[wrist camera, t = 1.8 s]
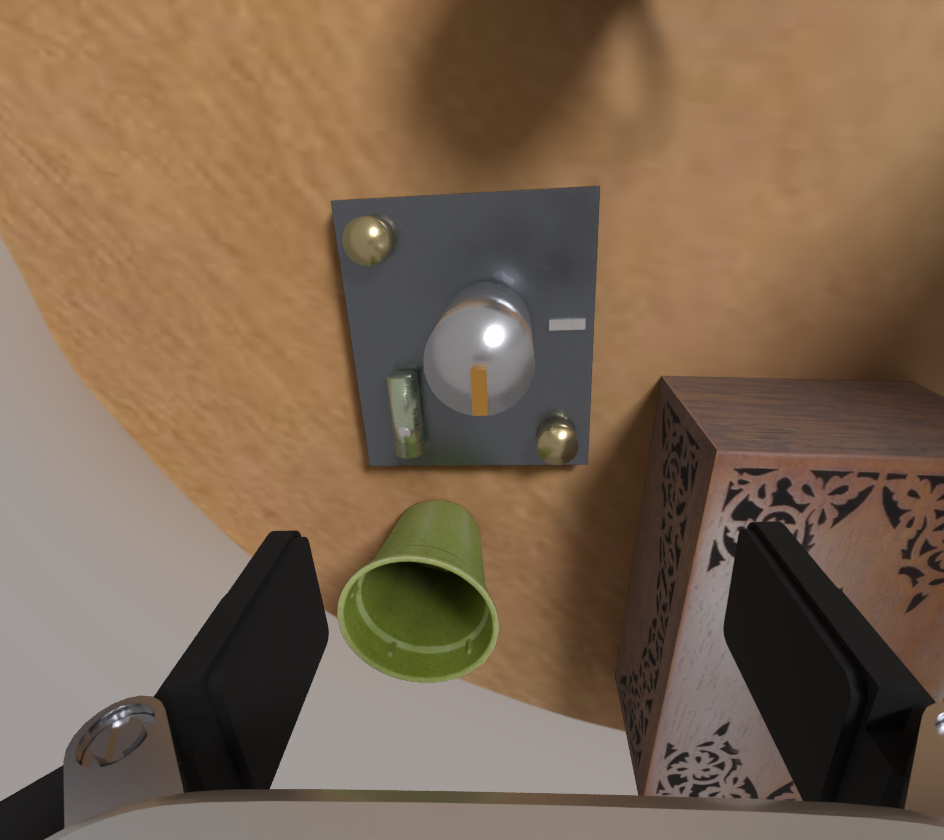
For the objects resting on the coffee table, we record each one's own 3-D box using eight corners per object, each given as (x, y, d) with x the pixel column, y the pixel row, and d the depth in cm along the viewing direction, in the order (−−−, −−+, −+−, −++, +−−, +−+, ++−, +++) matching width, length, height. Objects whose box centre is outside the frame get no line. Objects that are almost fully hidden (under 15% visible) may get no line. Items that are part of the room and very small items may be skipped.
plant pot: (353, 549, 39) (312, 641, 31) (408, 454, 35) (377, 531, 28) (463, 602, 40) (450, 704, 32) (527, 515, 37) (530, 606, 29)
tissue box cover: (660, 374, 32) (717, 449, 23) (910, 380, 31) (1072, 461, 22) (614, 674, 43) (640, 807, 34) (799, 686, 42) (878, 826, 32)
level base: (339, 200, 29) (317, 201, 26) (596, 185, 28) (605, 186, 25) (375, 455, 36) (362, 481, 32) (585, 453, 34) (591, 480, 31)
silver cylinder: (440, 283, 29) (416, 313, 22) (530, 279, 29) (534, 309, 22) (446, 369, 31) (427, 420, 24) (531, 367, 31) (535, 418, 24)
